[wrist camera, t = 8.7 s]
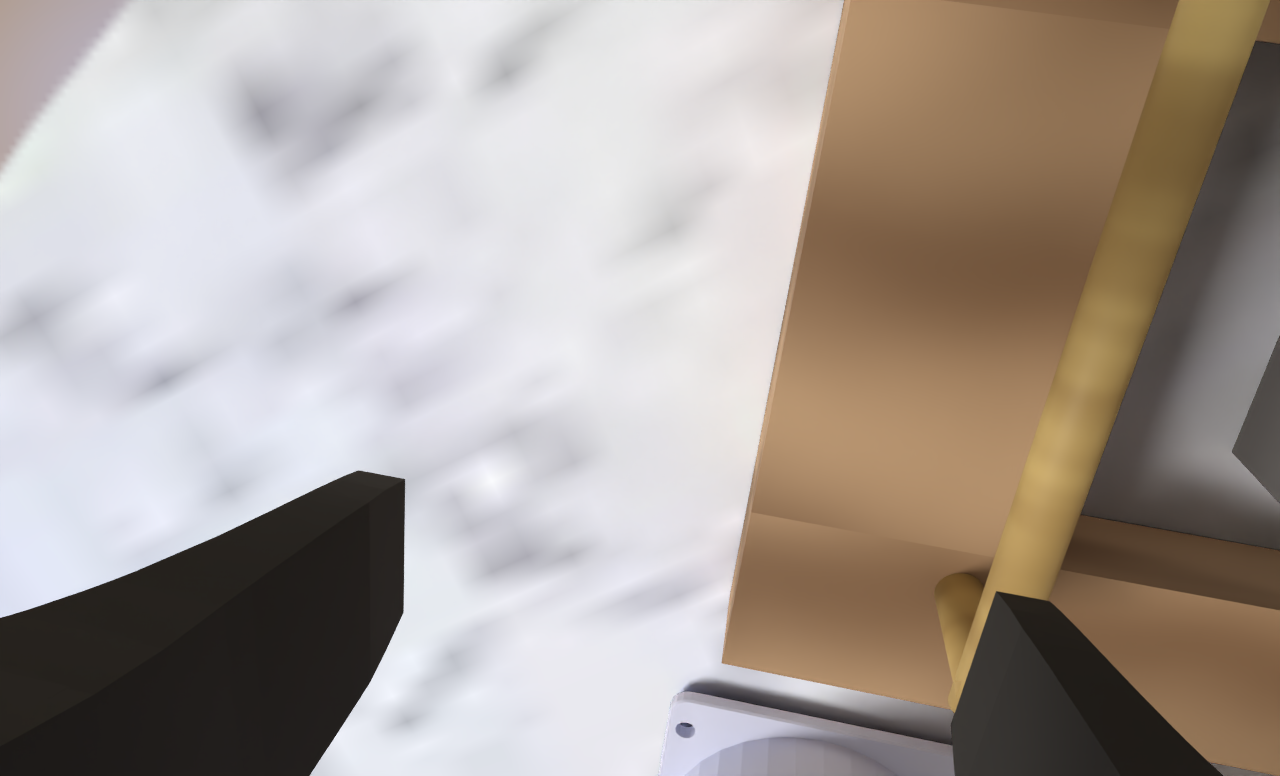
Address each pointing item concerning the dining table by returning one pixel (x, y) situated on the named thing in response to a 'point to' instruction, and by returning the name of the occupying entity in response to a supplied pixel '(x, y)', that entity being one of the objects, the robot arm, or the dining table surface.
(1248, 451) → the grey rectangular block
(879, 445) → the tan wooden frame
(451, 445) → the dining table surface
